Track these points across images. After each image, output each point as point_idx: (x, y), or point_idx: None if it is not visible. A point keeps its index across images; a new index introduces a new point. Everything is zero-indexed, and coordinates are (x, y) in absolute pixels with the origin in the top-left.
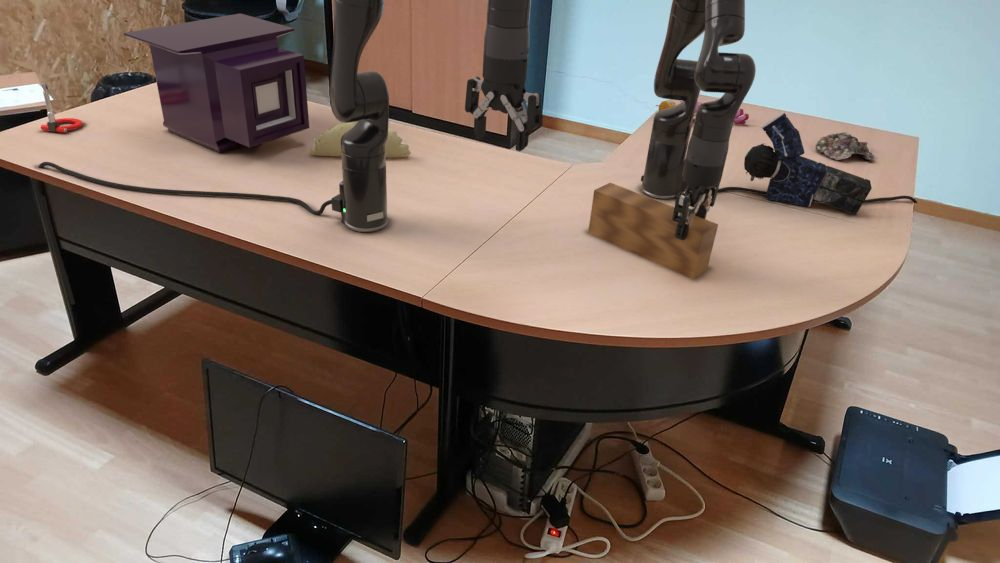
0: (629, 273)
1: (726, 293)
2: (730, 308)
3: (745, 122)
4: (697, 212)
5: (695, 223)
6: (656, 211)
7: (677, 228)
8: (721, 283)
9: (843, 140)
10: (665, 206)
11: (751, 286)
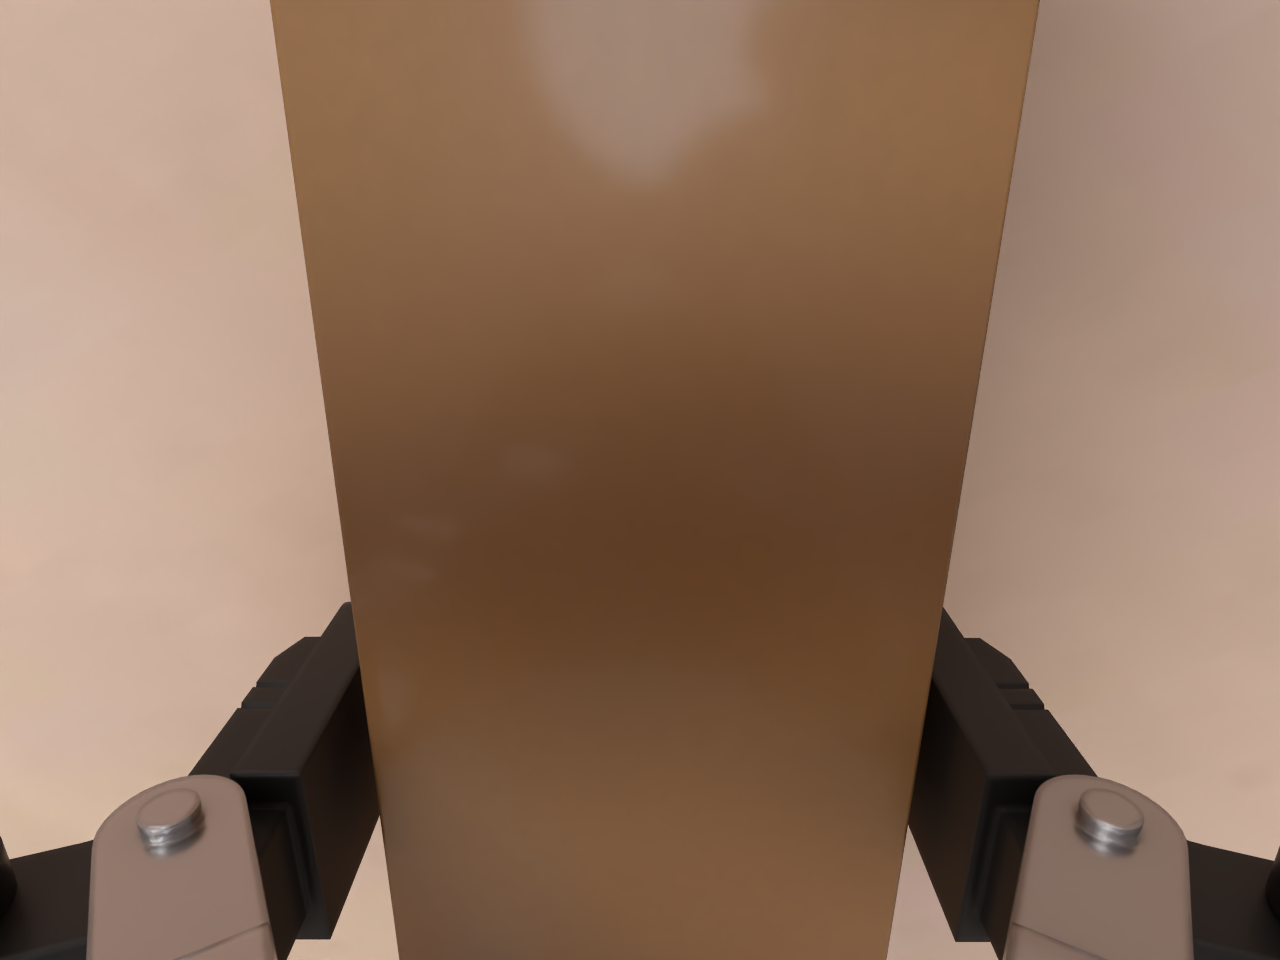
0: (107, 194)
1: None
2: (389, 937)
3: None
4: (968, 783)
5: (623, 855)
6: (446, 65)
7: (226, 737)
8: None
9: None
10: (894, 67)
11: None
